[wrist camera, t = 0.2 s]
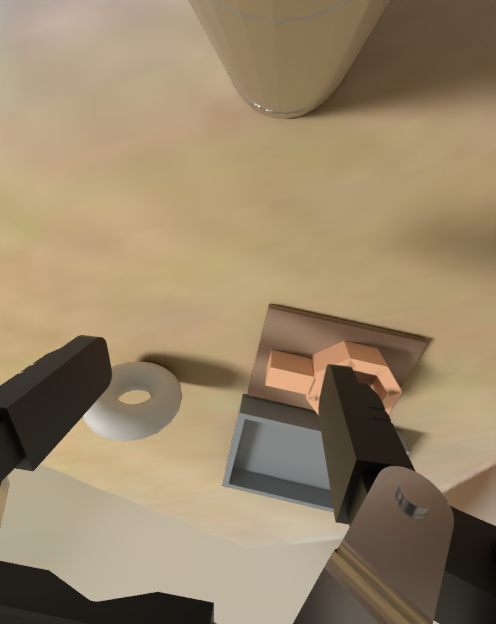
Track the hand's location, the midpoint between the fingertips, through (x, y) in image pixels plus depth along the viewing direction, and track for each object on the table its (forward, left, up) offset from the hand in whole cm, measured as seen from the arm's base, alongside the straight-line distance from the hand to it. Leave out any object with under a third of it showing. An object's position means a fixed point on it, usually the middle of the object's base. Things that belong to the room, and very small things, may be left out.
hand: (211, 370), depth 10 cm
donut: (+17, -10, -18) cm, 26 cm away
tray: (+26, +12, -18) cm, 33 cm away
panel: (+11, +10, -18) cm, 23 cm away
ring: (+11, +10, -17) cm, 22 cm away
